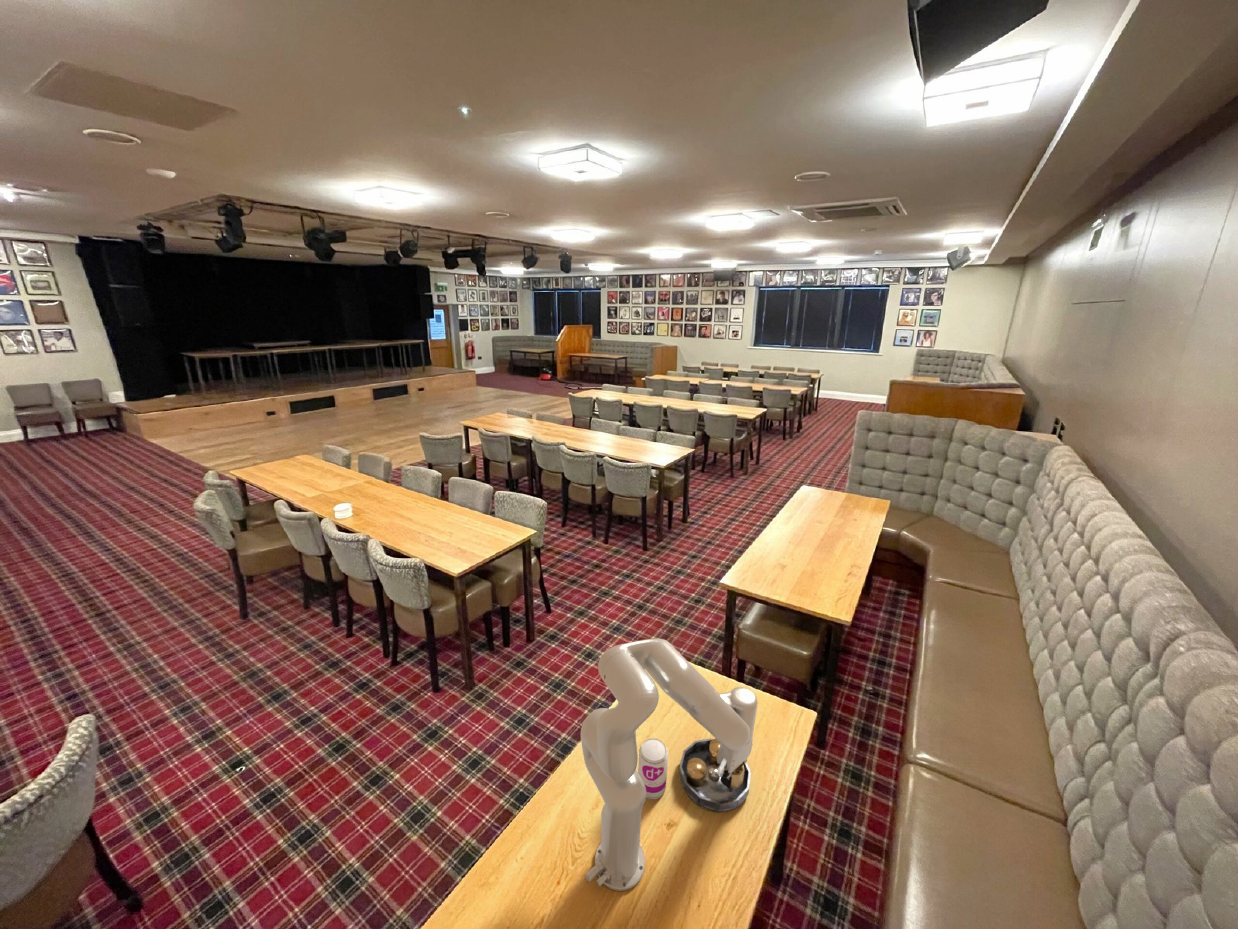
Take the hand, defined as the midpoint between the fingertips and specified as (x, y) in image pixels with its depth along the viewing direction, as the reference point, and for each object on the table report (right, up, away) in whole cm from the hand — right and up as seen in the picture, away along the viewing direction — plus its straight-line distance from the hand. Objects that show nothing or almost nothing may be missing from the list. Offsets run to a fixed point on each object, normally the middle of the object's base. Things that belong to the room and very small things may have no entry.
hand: (732, 777), depth 140 cm
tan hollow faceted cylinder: (0, 0, 0) cm, 0 cm away
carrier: (-4, -4, +6) cm, 9 cm away
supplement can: (-23, -5, +3) cm, 23 cm away
